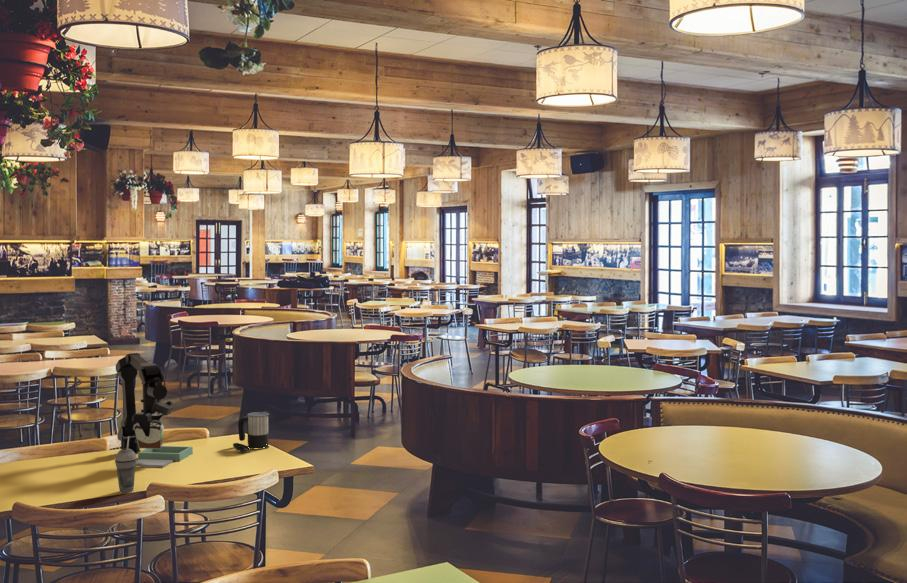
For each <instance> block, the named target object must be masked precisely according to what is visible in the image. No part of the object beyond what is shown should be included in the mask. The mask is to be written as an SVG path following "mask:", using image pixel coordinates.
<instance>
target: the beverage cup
mask: <svg viewBox="0 0 907 583" xmlns="http://www.w3.org/2000/svg"><path fill="white" fill-rule="evenodd" d="M128 445H129V436H128V440H127V448H124V449H121V448H120V449H119V451H118V452H117V453H116V455H115V460H114V464H115V466H116V474H117V482H118V489H119V493H120V492H121V493H120V494H123V493H125V494H129V493H128V492H131V493H133V492H134V489H135V488H134V487H135V475H136V467H135V465H136V461H137V460H138V457H137V455H136V454H137V453H136V454H135V453H134V451H133V450H131V449H129V448H128ZM132 491H133V492H132Z"/></svg>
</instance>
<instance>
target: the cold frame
mask: <svg viewBox="0 0 907 583" xmlns="http://www.w3.org/2000/svg"><path fill="white" fill-rule="evenodd" d="M193 449H194V448H193V446H183V445H182V446H179V445H177V446H176V445H174V446H173V445H162V449H143V450H141V451H140V452H138V453H137V460H139V459H147V460H172V462H180V461H183V460H184V459H186V458H188V457H189V455H190V456H191V455H193V454H194V452H193Z"/></svg>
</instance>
